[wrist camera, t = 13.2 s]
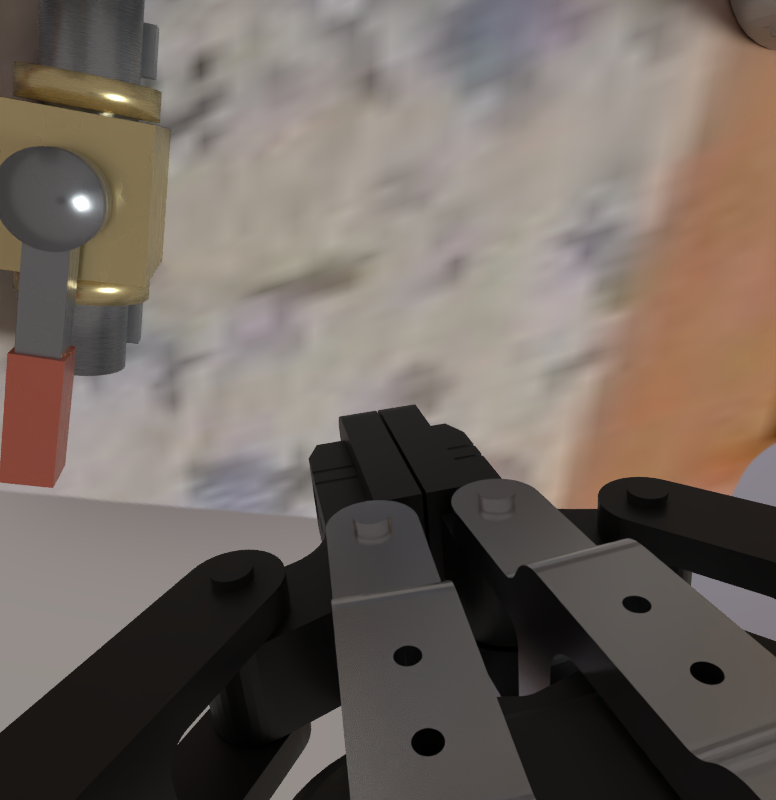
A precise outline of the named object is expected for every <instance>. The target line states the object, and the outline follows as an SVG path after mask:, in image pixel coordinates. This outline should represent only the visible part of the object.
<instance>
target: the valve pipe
mask: <svg viewBox="0 0 776 800" xmlns="http://www.w3.org/2000/svg"><path fill="white" fill-rule="evenodd" d="M144 3H145V0H39V46H38V64H32V63H25V62H13V96H17V97H21V98H26V99H31V100H36V101H38V104H37V103H31V102H26V101H20V100H15V99H9V98H4V97H0V166H1V164H2V163H3V162H4V161H5V160H6V159H7V158H8V157H9V156H10V155H12V154H13V153H15V152H17V151H19V150H22V149H24V148H29V147H36V146H57V147H66V148H70V149H73V150H76V151H78V152H80V153H82V154H84V155H85V156H87V157H88V158H90V159H91V160H92V161H93V162H94V163H96V164H97V165H98V167H99V168H100V169H101V170H102V171H103V173H104V174H105V176H106V178H107V180H108V182H109V184H110V187H111V191H112V196H113V208H112V214H111V217H110V219H109V221H108V223H107V225H106V226H105V228H104V229H103V230H102V231H101V232H100V233H99V234H98V235H97V236H95V237H94V238H93V239H91V240H89V241H88V242H86V243H85V244H83V245H82V246H80V255H79V266H78V276H77V287H76V298H75V308H74V319H73V330H72V340H71V346H75V347H76V357H75V367H74V375H78V376H97V375H106V374H112V373H115V372H118V371H120V370H122V369H123V368H124V367H125V359H126V343H135V344H138V343H139V341H140V338H141V322H142V306H143V302H145V301H147V300H148V299H149V287H150V279H151V278H152V276H153V274H154V273H155V271H156V269H157V268H158V266H159V265H160V263H161V261H162V254H163V239H164V224H165V209H166V194H167V180H168V165H169V150H170V135H171V130H170V129H166V128H163V127H159V126H156V125H151V124H145V123H140V122H138V120H143V121H149V122H155V123H160V111H161V95H162V92H160V91H158V90H154V89H151V88H148V87H144V86H140V78H141V77H144V78H149V79H154V80H156V72H157V55H158V38H159V28H158V27H157V25H152V24H148V23H143V22H144ZM21 249H22V242H21V241H20V240H18V239H17V238H16V237H15V236H13V235H12V234H11V233H10V232H9V231H8V230H7V229H6V227H5V226H4V225H3V223H2V222H1V220H0V269H2V270H10V271H13V287H14V288H15V289H16V290H17V291H19V278H20V263H21Z"/></svg>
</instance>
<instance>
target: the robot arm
mask: <svg viewBox="0 0 776 800" xmlns="http://www.w3.org/2000/svg"><path fill="white" fill-rule="evenodd" d="M730 1H731V6H732V9H733V11H734V14H735V16H736V18H737V21H738V23H739V24H740V26H741V27H742V28H743V30H744V31H745V33H746V34H747V35H748V36H749V37H750V38H752V39H753V40H754V41H755V42H756V43H758V44H760V45H762V46H764V47H767V48H769V49H773V50H776V0H730ZM339 430H340V438H341V441H339V442H333V443H327V444H321V445H317V446H316V448H315V449H314V451H313V452H312V454H311V456H310V457H309V463H310V470H311V477H312V484H313V491H314V498H315V506H316V513H317V520H318V526H319V531H320V535H321V540H322V543H321V544H320V546H319V547H318V548H317V549H316V550H315V551H313V552H312V553H311V554H309V555H308V556H306V557H304V558H303V559H301V560H299V561H297V562H294V563H292V564H290V565H287V566H285V567H284V565H283V563H282V561H281V560H280V559H279V558H278V557H276V556H275V555H272V554H270V553H268V552H265V551H259V550H238V551H232V552H228V553H224V554H221V555H218V556H215V557H213V558H211V559H209V560H206V561H205V562H203V563H201V564H200V565H198V566H197V567H196V568H194V569H193V570H192V571H191V572H189V573H188V574H187V575H186V576H185V577H184V578H182V579H181V580H180V581H179V582H178V583H176V584H175V585H174V586H173V587H172V588H171V589H169V590H168V591H167V592H166V593H165V594H163V595H162V596H161V597H160V598H159V599H158V600H156V601H155V602H154V603H153V604H152V605H150V606H149V607H148V608H147V609H146V610H145V611H143V612H142V613H141V614H140V615H139V616H137V618H135V619H134V620H133V621H132V622H130V623H129V624H128V625H127V626H126V627H125V628H123V629H122V630H121V631H120V632H119V633H118V634H116V635H115V636H114V637H113V638H112V639H110V640H109V641H108V642H107V643H106V644H104V645H103V646H102V647H101V648H100V649H99V650H97V651H96V652H95V653H94V654H93V655H91V656H90V657H89V658H88V659H87V660H86V661H84V662H83V663H82V664H81V665H80V666H78V667H77V668H76V669H75V670H74V671H73V672H71V673H70V674H69V675H68V676H67V677H65V679H63V680H62V681H61V682H60V683H58V684H57V685H56V686H55V687H54V688H53V689H51V690H50V691H49V692H48V693H47V694H45V695H44V696H43V697H42V698H41V699H40V700H38V701H37V702H36V703H35V704H34V705H32V707H30V708H29V709H28V710H27V711H25V712H24V713H23V714H22V715H21V716H19V717H18V718H17V719H16V720H15V721H14V722H12V723H11V724H10V725H9V726H8V727H6V728H5V729H4V730H3V731H2V732H1V733H0V800H270V798H271V797H272V795H273V794H274V793H275V791H276V790H277V788H278V787H279V785H280V784H281V782H282V781H283V779H284V778H285V776H286V775H287V773H288V772H289V770H290V769H291V768H292V766H293V765H294V763H295V762H296V760H297V759H298V757H299V756H300V754H301V753H302V751H303V750H304V748H305V747H306V745H307V743H308V740H309V738H310V733H311V722H312V721H314V720H315V719H317V718H319V717H321V716H323V715H325V714H327V713H328V712H330V711H332V710H334V709H336V708H338V707H340V706H341V707H342V716H343V727H344V738H345V748H346V754H345V755H344V756H342V757H341V758H339V759H338V760H336V761H335V762H333V763H331V764H330V765H328V766H327V767H326V768H325V769H324V770H322V771H321V772H320V773H319V774H317V775H316V776H315V777H314V778H313V779H311V780H310V781H309V783H307V784H306V786H305V787H303V789H301V791H300V792H299V793H298V794H297V795H296V796H295V797H294V798H293V800H776V641H773V640H771V639H768V638H765V637H762V636H759V635H756V634H753V633H751V632H748V631H745V630H743V629H741V628H740V627H739V626H738V625H737V624H736V623H734V622H733V621H732V620H731V619H729V618H728V617H727V616H726V615H725V614H724V613H722V612H721V611H720V610H719V609H718V608H716V607H715V606H714V605H713V604H712V603H710V602H709V601H708V600H707V599H706V598H705V597H703V596H702V595H701V594H700V593H699V592H697V591H696V590H695V589H694V588H693V587H691V579H692V578H691V577H692V572H693V573H696V574H700V575H703V576H706V577H709V578H712V579H715V580H719V581H722V582H725V583H728V584H731V585H734V586H738V587H741V588H744V589H747V590H750V591H754V592H757V593H760V594H763V595H767V596H770V597H772V598H774V599H776V507H774V506H770V505H766V504H762V503H758V502H753V501H749V500H745V499H741V498H737V497H733V496H729V495H724V494H720V493H716V492H712V491H708V490H704V489H699V488H695V487H691V486H687V485H683V484H679V483H674V482H670V481H666V480H661V479H656V478H649V477H629V478H622V479H618V480H615V481H612V482H610V483H608V484H606V485H605V486H603V487H602V488H601V489H600V491H599V494H598V509H557V508H556V507H554V506H553V505H552V504H551V503H550V502H549V501H548V500H547V499H546V498H545V497H544V496H543V495H542V494H540V493H539V492H538V491H537V490H536V489H535V488H533V487H531V486H530V485H528V484H525V483H522V482H519V481H515V480H509V479H502V478H501V477H500V476H499V475H498V473H497V472H496V471H495V470H494V469H493V467H492V466H491V465H490V464H489V462H488V461H487V460H486V459H485V458H484V456H481V453H480V451H479V450H478V449H477V448H476V447H475V446H473V443H472V442H471V440H470V439H469V438H468V437H467V436H466V434H465V433H464V432H462V431H460V430H458V429H456V428H454V427H451V426H449V425H447V424H440V425H434V426H430V424H429V423H428V422H427V420H426V419H425V417H424V416H423V415H422V413H421V412H420V410H419V409H418V408H417V406H416V405H408V406H402V407H396V408H389V409H383V410H378V413H377V411H372V412H365V413H359V414H353V415H347V416H341V417H339ZM208 705H209V706H210V709H209V710H208V711H207V712H206V713H205V714H204V716H203V717H202V718H201V719H200V720H199V722H197V723H196V725H195V726H194V727H193V728H192V729H191V730H190V731H189V733H188V734H187V735H186V736H185V737H184V738H183V739H182V741H181V742H180V743H179V744H178V742H179V740H180V739H181V737H182V735H183V734H184V732H185V731H186V730H187V729H188V727H189V726H190V725H191V724H192V723H193V722H194V721H195V720H196V718H197V717H198V716H199V715H200V714H201V713H202V712H203V711H204V709H205V708H206V707H207V706H208ZM177 744H178V745H177Z"/></svg>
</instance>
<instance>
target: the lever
mask: <svg viewBox="0 0 776 800" xmlns="http://www.w3.org/2000/svg"><path fill="white" fill-rule="evenodd" d="M112 208H113V196H112V191H111V187H110V184H109V182H108V180H107V178H106V176H105V174H104V173H103V171H102V170H101V169H100V168H99V167H98V165H97V164H96V163H94V162H93V161H92V160H91V159H90V158H88V157H87V156H85V155H84V154H82V153H80V152H78V151H76V150H73V149H70V148H66V147H57V146H36V147H29V148H24V149H22V150H19V151H17V152H15V153H13V154H12V155H10V156H9V157H8V158H7V159H6V160H5V161H4V162H3V163H2V164H1V166H0V220H1V222H2V223H3V225H4V226H5V227H6V229H7V230H8V231H9V232H10V233H11V234H12V235H13V236H15V237H16V238H17V239H18V240H20V241H21V242H22V249H21V263H20V278H19V292H18V306H17V321H16V335H15V347H14V348H13V349H12V350H11V351H10V352H8V355H7V370H6V385H5V400H4V416H3V431H2V446H1V461H0V482H1V483H10V484H20V485H30V486H40V487H50V488H53V487H54V485H55V483H56V481H57V480H58V478H59V476H60V474H61V472H62V470H63V468H64V466H65V460H66V450H67V440H68V429H69V419H70V409H71V398H72V388H73V378H74V367H75V357H76V347H75V346H71V340H72V330H73V319H74V308H75V298H76V287H77V276H78V266H79V255H80V246H82V245H83V244H85V243H86V242H88V241H89V240H91V239H93V238H94V237H95V236H97V235H98V234H99V233H100V232H101V231H102V230H103V229H104V228H105V226H106V225H107V223H108V221H109V219H110V217H111V214H112Z"/></svg>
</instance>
